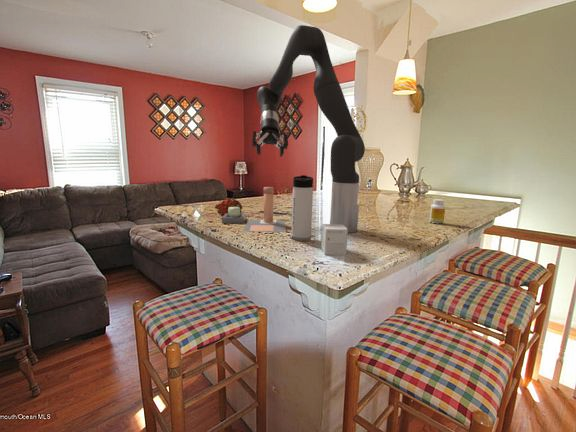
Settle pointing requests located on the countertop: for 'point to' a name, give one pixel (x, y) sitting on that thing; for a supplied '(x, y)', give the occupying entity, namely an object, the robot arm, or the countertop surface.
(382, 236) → the countertop surface
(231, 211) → the button
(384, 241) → the countertop surface
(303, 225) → the travel mug
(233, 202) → the dragon fruit
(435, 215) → the supplement bottle
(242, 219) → the button housing
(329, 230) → the product box
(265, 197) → the tan tall block
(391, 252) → the countertop surface
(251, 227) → the board
